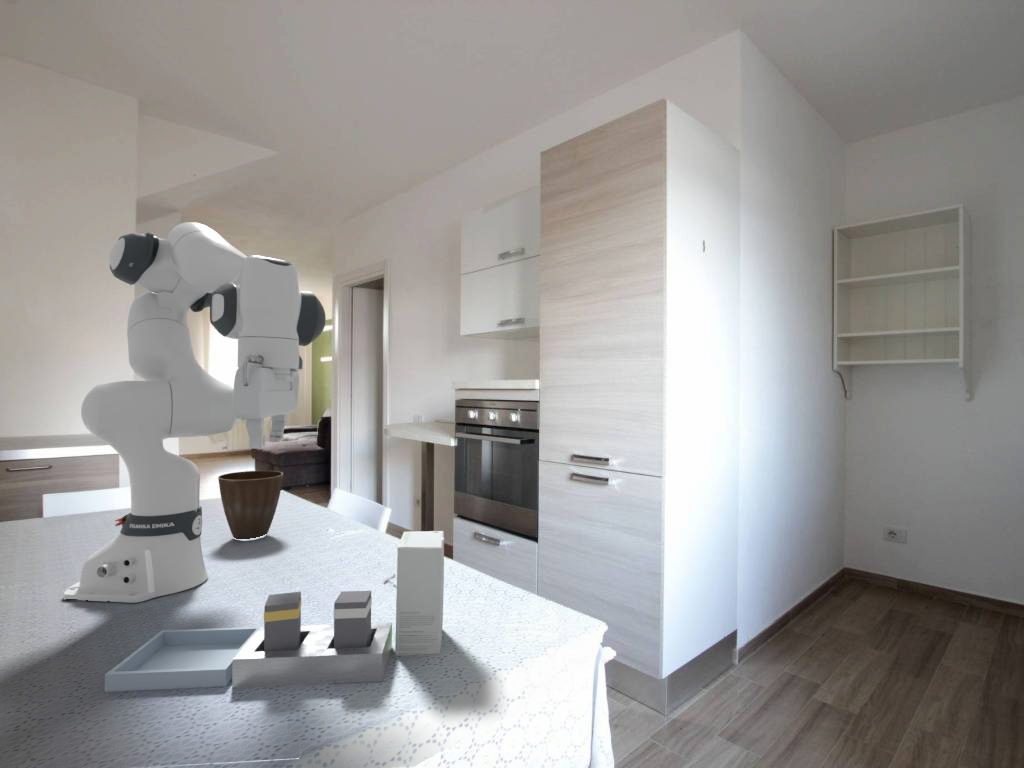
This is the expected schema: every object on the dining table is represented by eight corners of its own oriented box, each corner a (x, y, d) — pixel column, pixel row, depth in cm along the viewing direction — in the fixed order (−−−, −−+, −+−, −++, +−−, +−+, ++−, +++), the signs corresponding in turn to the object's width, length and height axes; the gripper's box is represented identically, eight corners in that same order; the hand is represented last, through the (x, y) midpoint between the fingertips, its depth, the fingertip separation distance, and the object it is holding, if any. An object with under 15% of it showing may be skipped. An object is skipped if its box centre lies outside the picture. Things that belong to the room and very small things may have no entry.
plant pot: (294, 535, 137) (295, 473, 137) (239, 549, 124) (239, 481, 125) (261, 527, 145) (261, 469, 145) (205, 540, 132) (206, 476, 133)
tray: (104, 696, 64) (104, 674, 64) (161, 648, 76) (161, 630, 76) (225, 690, 65) (225, 669, 65) (262, 644, 77) (262, 626, 77)
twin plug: (333, 673, 68) (333, 603, 68) (340, 657, 72) (341, 591, 72) (365, 672, 68) (366, 602, 69) (371, 656, 73) (371, 590, 73)
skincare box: (401, 632, 81) (402, 530, 81) (445, 631, 81) (445, 529, 82) (394, 660, 73) (394, 546, 73) (442, 658, 73) (443, 545, 73)
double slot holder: (232, 692, 65) (232, 659, 65) (260, 656, 74) (260, 627, 74) (381, 685, 66) (382, 653, 66) (391, 650, 75) (391, 622, 75)
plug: (263, 677, 67) (264, 606, 67) (268, 662, 71) (268, 594, 71) (298, 672, 68) (298, 602, 68) (300, 657, 72) (301, 591, 72)
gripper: (268, 354, 74) (266, 452, 74) (305, 361, 95) (304, 438, 95) (220, 353, 74) (219, 452, 73) (268, 360, 94) (267, 438, 94)
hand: (267, 444), depth 84 cm, fingers open, 8 cm apart
